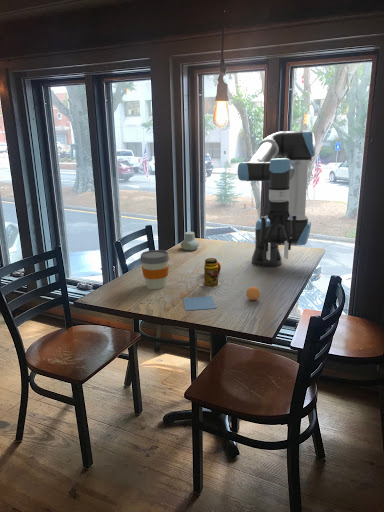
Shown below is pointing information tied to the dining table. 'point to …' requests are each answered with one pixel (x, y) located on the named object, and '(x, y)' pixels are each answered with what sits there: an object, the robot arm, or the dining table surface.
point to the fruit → (218, 267)
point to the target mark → (199, 303)
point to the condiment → (210, 273)
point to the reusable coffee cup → (155, 268)
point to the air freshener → (189, 241)
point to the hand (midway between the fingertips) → (277, 258)
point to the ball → (253, 293)
